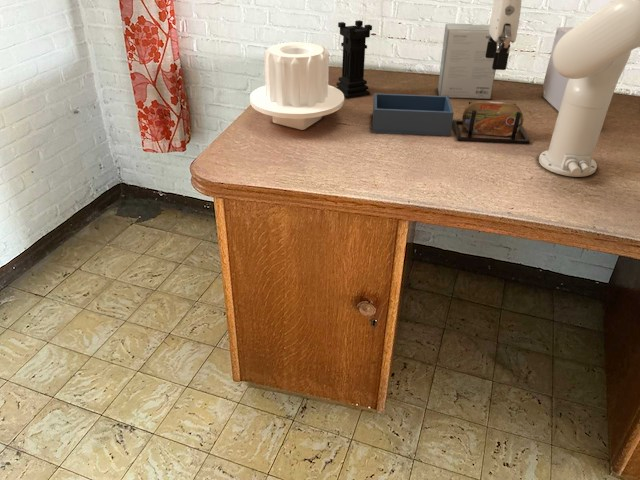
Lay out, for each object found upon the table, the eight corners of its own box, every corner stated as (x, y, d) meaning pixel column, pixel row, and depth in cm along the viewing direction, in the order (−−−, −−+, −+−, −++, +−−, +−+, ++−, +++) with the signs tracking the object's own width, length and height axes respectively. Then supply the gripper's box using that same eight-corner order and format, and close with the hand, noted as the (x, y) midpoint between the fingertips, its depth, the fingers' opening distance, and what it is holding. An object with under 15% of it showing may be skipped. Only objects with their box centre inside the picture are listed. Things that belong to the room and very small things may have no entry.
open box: (450, 136, 140) (453, 112, 137) (372, 132, 142) (373, 109, 138) (445, 118, 150) (448, 96, 147) (372, 115, 151) (374, 93, 148)
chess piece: (334, 90, 168) (336, 22, 157) (357, 86, 171) (360, 19, 160) (346, 98, 162) (349, 28, 151) (369, 94, 165) (374, 26, 154)
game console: (577, 130, 144) (599, 54, 133) (539, 95, 166) (556, 27, 155) (598, 130, 144) (623, 54, 133) (558, 94, 167) (576, 27, 155)
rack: (529, 144, 137) (535, 117, 133) (457, 140, 138) (462, 114, 134) (519, 125, 146) (524, 100, 142) (452, 122, 148) (456, 97, 144)
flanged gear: (359, 114, 152) (363, 45, 141) (312, 147, 134) (313, 70, 123) (284, 98, 162) (282, 32, 151) (232, 126, 144) (226, 53, 133)
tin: (459, 132, 142) (465, 101, 137) (460, 127, 145) (465, 97, 140) (519, 138, 139) (526, 107, 135) (518, 133, 142) (526, 102, 137)
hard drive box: (487, 91, 169) (499, 24, 157) (490, 99, 162) (504, 30, 151) (436, 89, 170) (445, 22, 158) (438, 97, 164) (448, 28, 152)
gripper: (534, -5, 117) (518, 75, 126) (517, -18, 131) (503, 54, 141) (499, -6, 117) (485, 73, 127) (486, -19, 131) (474, 53, 141)
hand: (495, 63), depth 134 cm, fingers open, 9 cm apart
